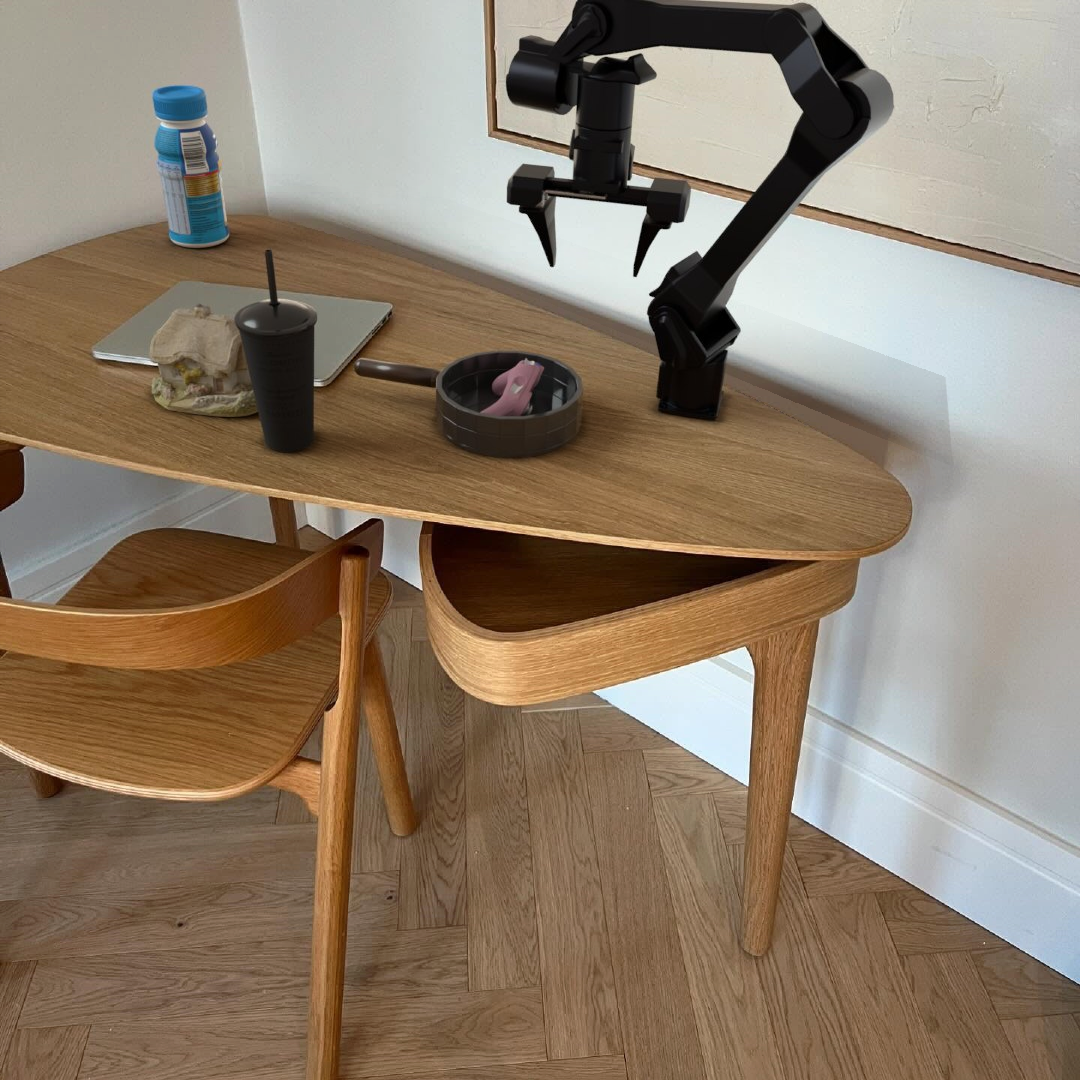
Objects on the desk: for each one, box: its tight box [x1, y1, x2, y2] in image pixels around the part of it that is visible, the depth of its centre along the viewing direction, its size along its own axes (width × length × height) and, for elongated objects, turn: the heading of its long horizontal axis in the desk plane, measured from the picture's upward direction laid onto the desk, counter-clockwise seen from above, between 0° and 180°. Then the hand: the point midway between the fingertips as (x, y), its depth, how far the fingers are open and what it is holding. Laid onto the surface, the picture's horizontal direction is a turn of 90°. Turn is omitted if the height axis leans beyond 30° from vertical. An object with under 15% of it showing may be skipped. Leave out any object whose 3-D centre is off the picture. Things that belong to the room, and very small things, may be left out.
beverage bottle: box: [151, 84, 230, 249], centre depth 149 cm, size 8×8×20 cm
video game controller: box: [480, 358, 544, 416], centre depth 114 cm, size 10×5×7 cm, turn 168°
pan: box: [435, 349, 584, 459], centre depth 115 cm, size 15×15×4 cm
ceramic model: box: [148, 303, 258, 418], centre depth 116 cm, size 14×11×10 cm
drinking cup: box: [233, 249, 318, 453], centre depth 105 cm, size 8×8×20 cm
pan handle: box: [353, 357, 441, 389], centre depth 116 cm, size 10×2×2 cm, turn 75°
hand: (593, 270), depth 119 cm, fingers open, 9 cm apart
